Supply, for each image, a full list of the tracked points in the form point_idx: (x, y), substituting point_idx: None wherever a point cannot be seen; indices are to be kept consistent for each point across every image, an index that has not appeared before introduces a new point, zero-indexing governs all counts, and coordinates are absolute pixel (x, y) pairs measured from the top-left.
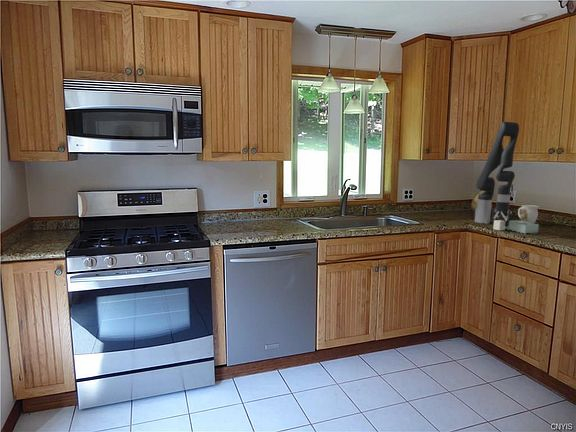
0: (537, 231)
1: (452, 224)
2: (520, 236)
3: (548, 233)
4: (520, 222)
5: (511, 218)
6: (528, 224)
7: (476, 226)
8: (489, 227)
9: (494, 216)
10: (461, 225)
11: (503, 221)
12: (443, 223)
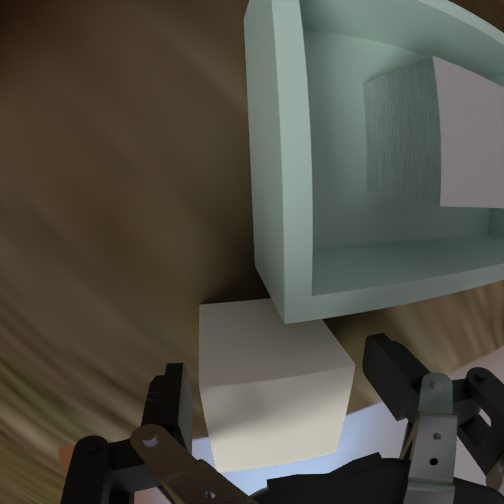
0: (492, 77)
1: (31, 485)
2: (494, 348)
3: (488, 19)
4: (489, 169)
5: (492, 391)
6: (462, 35)
7: (69, 428)
8: (110, 358)
9: (171, 501)
10: (52, 475)
11: (345, 407)
12: (16, 491)
